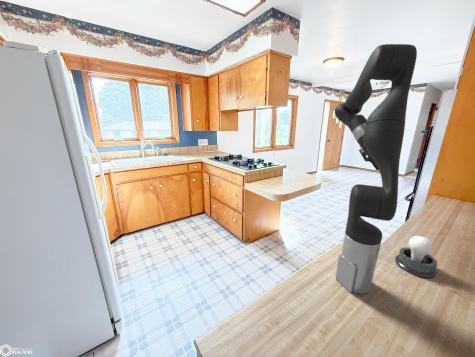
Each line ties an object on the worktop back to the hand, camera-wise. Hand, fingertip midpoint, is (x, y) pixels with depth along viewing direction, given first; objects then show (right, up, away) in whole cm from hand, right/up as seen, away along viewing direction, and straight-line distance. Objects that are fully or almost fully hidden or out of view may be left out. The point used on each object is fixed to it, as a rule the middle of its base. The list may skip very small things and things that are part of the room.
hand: (388, 168), depth 72 cm
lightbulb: (+7, -35, -4) cm, 36 cm away
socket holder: (+7, -36, -4) cm, 37 cm away
